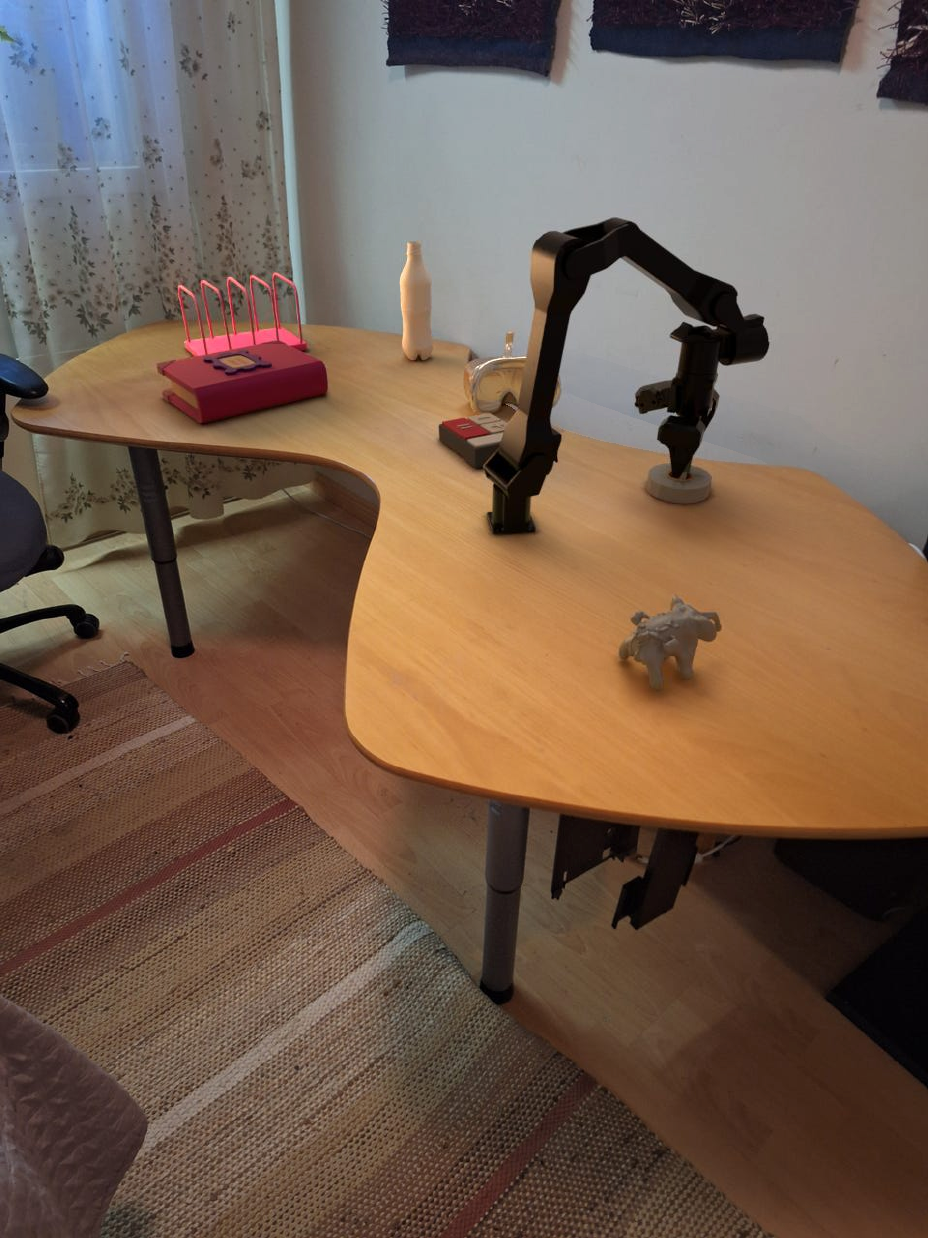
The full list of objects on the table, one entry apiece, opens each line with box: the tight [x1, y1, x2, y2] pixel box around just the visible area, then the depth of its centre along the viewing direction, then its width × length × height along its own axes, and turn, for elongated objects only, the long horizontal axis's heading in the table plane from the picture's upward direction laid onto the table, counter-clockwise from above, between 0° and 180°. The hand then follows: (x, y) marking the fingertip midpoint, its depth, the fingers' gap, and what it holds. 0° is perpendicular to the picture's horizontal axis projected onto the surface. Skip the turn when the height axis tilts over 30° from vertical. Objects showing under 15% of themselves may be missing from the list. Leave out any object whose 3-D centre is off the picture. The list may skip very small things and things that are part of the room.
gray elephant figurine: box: [618, 593, 723, 691], centre depth 90 cm, size 9×12×8 cm
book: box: [155, 340, 329, 424], centre depth 165 cm, size 21×28×8 cm
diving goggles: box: [463, 331, 562, 415], centre depth 157 cm, size 18×11×14 cm, turn 101°
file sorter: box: [177, 272, 308, 357], centre depth 190 cm, size 17×25×16 cm
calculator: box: [438, 413, 509, 469], centre depth 143 cm, size 11×4×15 cm
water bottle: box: [399, 240, 434, 361], centre depth 182 cm, size 7×7×25 cm
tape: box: [645, 462, 713, 505], centre depth 129 cm, size 10×10×3 cm
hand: (681, 466), depth 128 cm, fingers open, 9 cm apart
